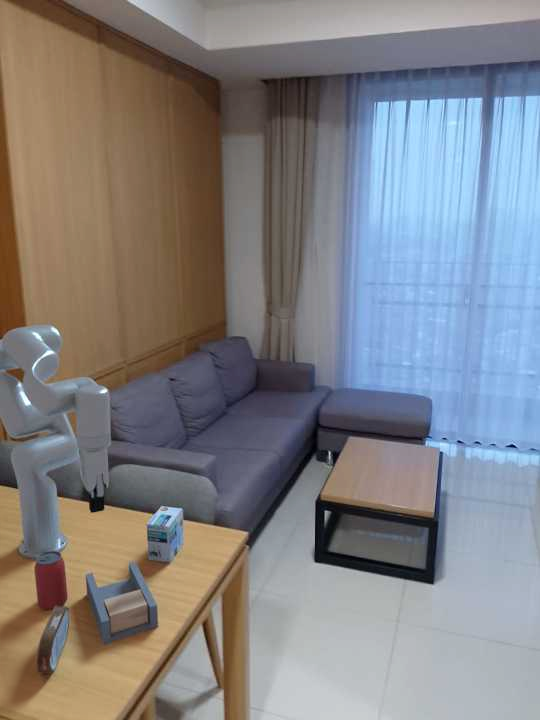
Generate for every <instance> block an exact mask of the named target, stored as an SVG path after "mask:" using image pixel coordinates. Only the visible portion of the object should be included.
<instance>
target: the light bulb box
mask: <svg viewBox="0 0 540 720" xmlns="http://www.w3.org/2000/svg"><path fill="white" fill-rule="evenodd" d="M184 531H185V530H184V509H183V508H181V507H180V508H178V507H172V506H171V507H170V506H163V505H162V506H161V505H160V508H158V510H156V512H155V513H154V514H153V516H152V517H150V520H149V521H147V523H146V535H147V536H146V537H147V538H146V539H147V559H148V561H155V562H162V563H163V562H164V563H172V561H173V560H174V559H175V557H176V556H177V554H178V553H179V551H180V550H181V549H182V547H183V545H184V544H185V539H184V538H185V537H184V533H185V532H184Z"/></svg>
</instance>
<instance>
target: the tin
mask: <svg viewBox="0 0 540 720" xmlns="http://www.w3.org/2000/svg"><path fill="white" fill-rule="evenodd" d="M51 611H52V612H51V613H50V616H49V618H48V620H47V622H46V625H45V626H44V629H43V631H42V634H41V637H40V640H39V644H38V649H37V658H36V669H37V673H38V674H51V673H53V672H54V671H55V670H56V668H57V665H58V663H59V660H60V658H61V655H62V652H63V650H64V647H65V644H66V642H67V637H68V634H69V628H70V619H69V618H70V613H69V612H70V608H69V607H68V606H66V605H65V606H63V605H62V606H55V607H54V609H52V610H51Z"/></svg>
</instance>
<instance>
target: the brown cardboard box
mask: <svg viewBox="0 0 540 720" xmlns="http://www.w3.org/2000/svg"><path fill="white" fill-rule="evenodd" d="M104 606H105V609H106V612H107V615H108V617H109V621H110V632H111V634H112V633H115V632H119V631H122V630H125V629H128V628H131V627H134V626H137V625H140V624H144V623H147V622H148V608H147V603H146V601H145V598H144V596H143V594H142V592H141V590H136V591H133V592H129V593H126V594H122V595H119V596H116V597H112V598H109V599H105V600H104Z"/></svg>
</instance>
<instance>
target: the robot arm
mask: <svg viewBox="0 0 540 720" xmlns="http://www.w3.org/2000/svg"><path fill="white" fill-rule="evenodd" d="M62 346H63V338H62V335H61V334H60V332H59V330H58V329H57V328H56V327H54V325H50V324H38V325H30V326H22V327H21V326H20V327H17V328H16V327H15V328H13V329H11V330H9V331H7V332H6V333H5V334H4V335H3V337H2V339H0V421H1V423H2V425H3V428H4V429H5V431H6V432H7V435H8V436H9V437H10V438H12V439H21V438H26V437H27V438H28V437H30V436H34V435H37V434H41V433H45V432H48V434H46V435H43V436H41V435H40V436H37V437H35V438H31V439H28V440H24V441H23V442H22V441H21V442H20V443H18V444H16V445H15V446H14V447H13V449H12V451H11V453H10V460H11V461H10V462H11V464H12V468H13V471H14V473H15V474H14V475H15V478H16V483H17V488H18V490H17V491H18V498H19V506H20V508H19V509H20V516H21V524H22V525H21V526H22V537H23V540H22V541H21V542H20V543H19V544H18V553H19V555H20V556H22V557H24V558H27V559H35V560H36V558H37V557H38V556H39V555H41V554H42V553H45V552H48V551H57V552H59V553H60V552H61V551H62V550H63V549H64V548H65V547H66V546H67V543H68V538H67V536H66V534H64V533H63V532H61V526H60V514H59V504H58V503H59V501H58V493H57V492H58V491H57V485H56V482H55V481H54V479H52V478H51V477H49V476H48V475H47V473H48V472H51V471H52V470H55V469H58V468H61V467H63V466H66V465H69V464H72V463H74V462H75V461H76V460H77V459H78V458H79V459H80V460H79V461H80V464H79V465H80V466H79V467H80V470H79V471H80V479H81V481H82V484H83V487H84V488H85V490H86V491H87V492H88V493H89V494H88V505H89V506H88V508H89V512H90V513H91V514H92V513H99V512H103V511H104V510H105V492H104V491H105V490H104V489H106V490H107V489H108V487H109V483H110V479H109V475H110V474H109V459H108V458H109V456H108V448H109V447H110V446H111V445H112V435H111V431H112V430H111V406H110V405H111V402H110V401H111V398H110V391H109V389H108V388H107V387H105V386H103V385H100V384H97V382H96V381H94V379H92V378H91V377H88V376H80V377H75V378H71V379H66V380H65V379H64V380H61V381H59V380H58V381H55V382H50V383H45V382H46V381H48V380H49V379H50V378H52V377H53V376H54V375H55V374H56V373H57V371H58V369H59V367H60V358H59V356H58V354H59V353H60V352H61V350H62V348H63V347H62ZM16 369H21V370H22V371H23V372H24V374H23V377H22V381H20V380H19V379H18V378H16V376H13V375H12V374H10V373H8V372H7V371H10V370H16ZM71 412H75V429H76V435H75V432H74V429H73V427H72V425H71V423H70V420H69V418H68V416H67V414H68V413H71ZM79 456H80V457H79Z"/></svg>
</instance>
